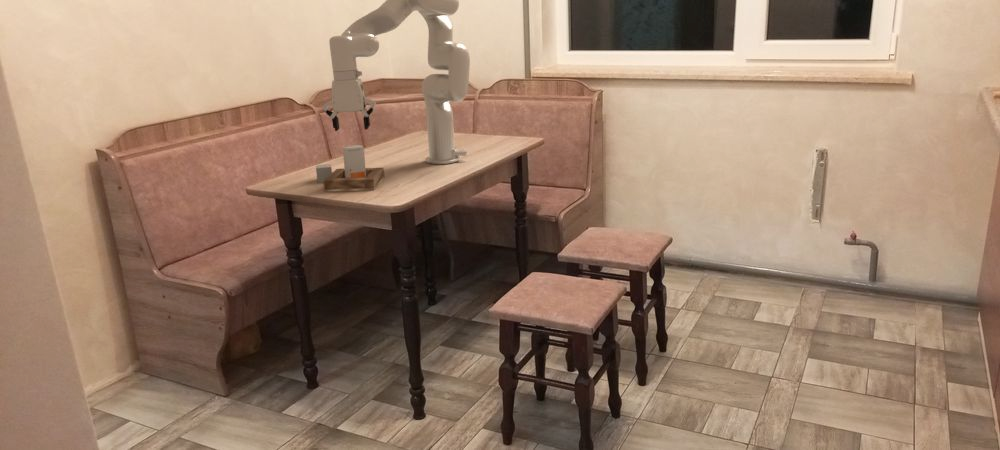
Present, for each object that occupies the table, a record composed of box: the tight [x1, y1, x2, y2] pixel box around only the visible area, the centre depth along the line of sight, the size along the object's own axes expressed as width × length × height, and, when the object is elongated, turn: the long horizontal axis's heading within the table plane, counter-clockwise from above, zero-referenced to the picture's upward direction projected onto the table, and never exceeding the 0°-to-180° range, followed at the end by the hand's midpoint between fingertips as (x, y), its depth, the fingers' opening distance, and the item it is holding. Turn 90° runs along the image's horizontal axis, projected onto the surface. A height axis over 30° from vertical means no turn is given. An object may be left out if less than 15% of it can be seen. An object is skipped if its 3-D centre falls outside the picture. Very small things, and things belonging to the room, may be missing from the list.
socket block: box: [323, 167, 385, 192], centre depth 250 cm, size 16×17×4 cm
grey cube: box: [315, 163, 333, 184], centre depth 257 cm, size 5×5×5 cm
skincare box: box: [342, 144, 366, 178], centre depth 248 cm, size 6×4×12 cm
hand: (352, 129), depth 245 cm, fingers open, 9 cm apart
